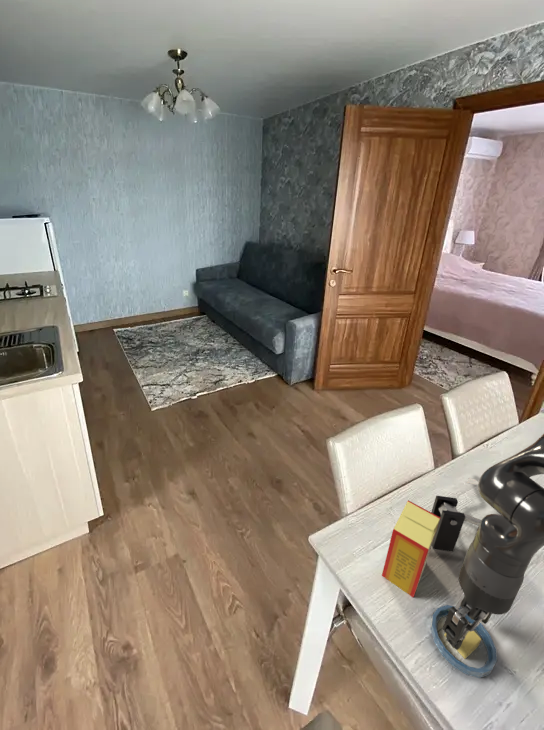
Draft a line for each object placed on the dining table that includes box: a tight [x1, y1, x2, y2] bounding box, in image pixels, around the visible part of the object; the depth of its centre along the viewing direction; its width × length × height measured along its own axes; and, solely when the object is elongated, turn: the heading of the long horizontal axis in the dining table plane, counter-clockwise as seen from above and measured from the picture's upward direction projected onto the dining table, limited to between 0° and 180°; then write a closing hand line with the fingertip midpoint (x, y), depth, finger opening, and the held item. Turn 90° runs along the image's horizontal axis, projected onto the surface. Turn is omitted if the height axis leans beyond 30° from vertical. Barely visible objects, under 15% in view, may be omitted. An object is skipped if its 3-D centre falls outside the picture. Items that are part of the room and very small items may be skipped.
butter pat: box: [443, 630, 482, 660], centre depth 64 cm, size 4×4×3 cm
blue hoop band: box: [429, 604, 498, 679], centre depth 64 cm, size 10×10×3 cm
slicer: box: [430, 495, 465, 553], centre depth 81 cm, size 10×8×13 cm
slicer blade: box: [439, 502, 482, 527], centre depth 79 cm, size 13×6×2 cm, turn 80°
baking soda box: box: [381, 500, 440, 598], centre depth 74 cm, size 10×6×16 cm
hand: (466, 630), depth 63 cm, fingers open, 8 cm apart
